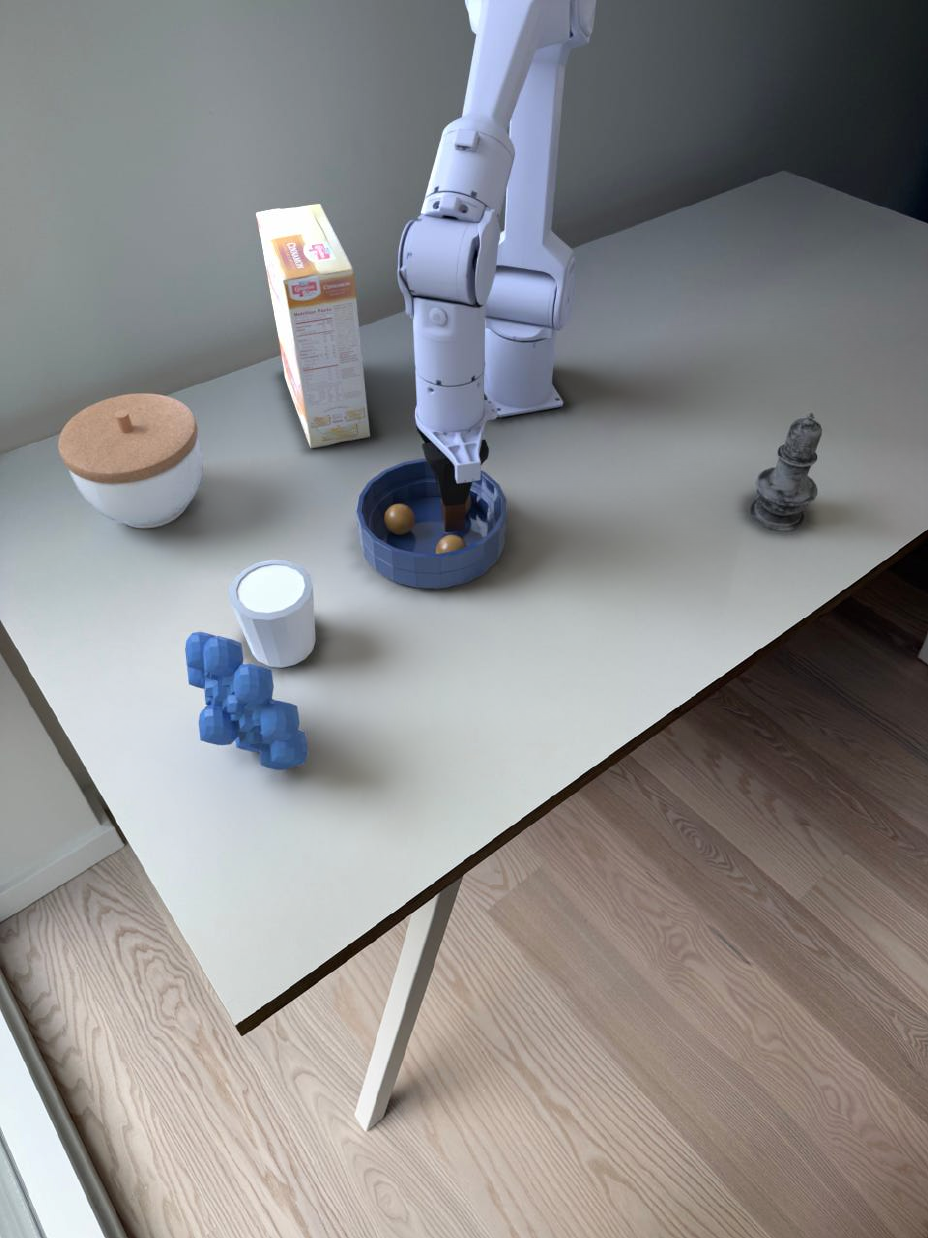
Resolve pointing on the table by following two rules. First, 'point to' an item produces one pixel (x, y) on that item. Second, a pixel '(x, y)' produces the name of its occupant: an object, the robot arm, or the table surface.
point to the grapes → (242, 703)
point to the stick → (453, 517)
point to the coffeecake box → (316, 323)
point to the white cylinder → (275, 611)
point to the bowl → (429, 528)
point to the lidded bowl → (134, 458)
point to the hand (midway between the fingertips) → (451, 494)
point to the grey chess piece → (789, 479)
